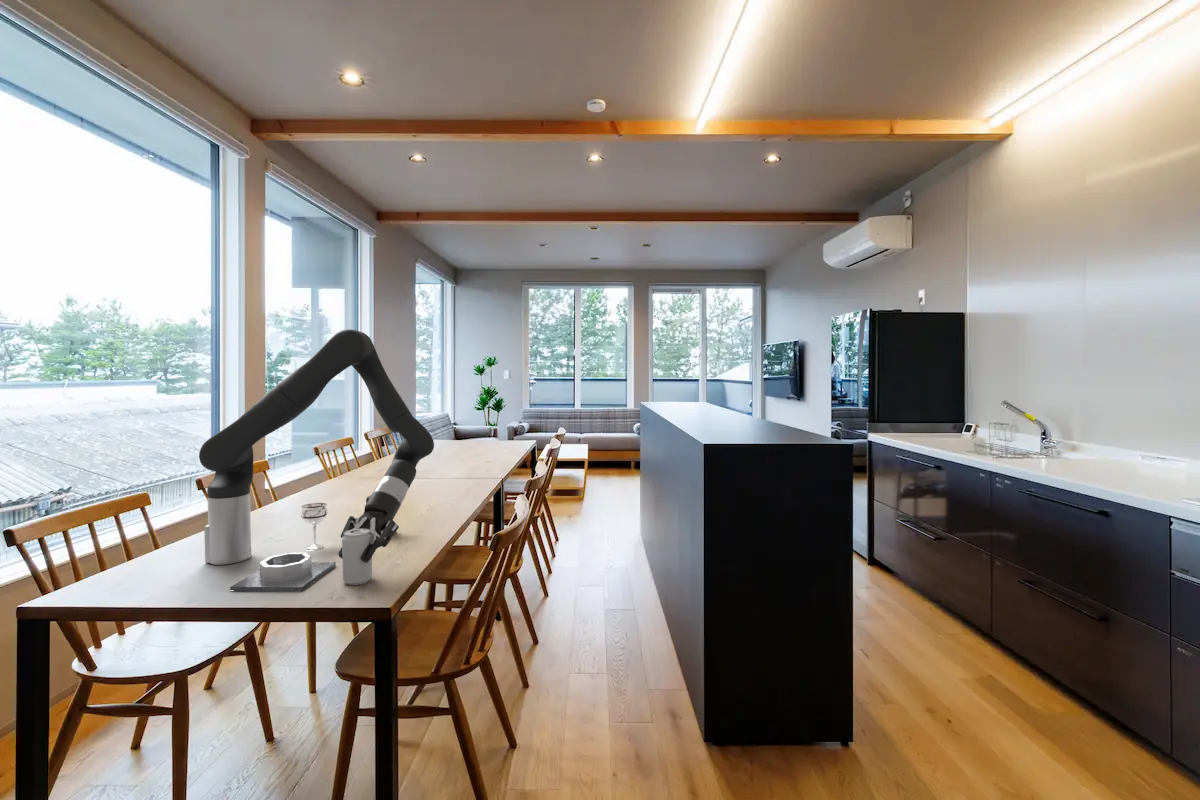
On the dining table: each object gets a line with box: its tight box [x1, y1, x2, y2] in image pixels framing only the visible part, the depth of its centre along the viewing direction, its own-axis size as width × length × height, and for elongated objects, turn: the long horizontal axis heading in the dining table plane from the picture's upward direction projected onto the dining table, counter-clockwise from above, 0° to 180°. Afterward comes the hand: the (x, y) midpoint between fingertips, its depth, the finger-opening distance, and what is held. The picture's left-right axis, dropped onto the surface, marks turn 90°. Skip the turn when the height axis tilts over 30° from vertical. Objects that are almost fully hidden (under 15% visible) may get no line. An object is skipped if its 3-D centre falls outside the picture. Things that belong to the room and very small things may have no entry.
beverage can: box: [341, 528, 373, 586], centre depth 127 cm, size 6×6×12 cm
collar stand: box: [229, 552, 337, 592], centre depth 129 cm, size 16×16×4 cm
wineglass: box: [300, 502, 329, 551], centre depth 152 cm, size 7×7×12 cm
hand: (352, 559), depth 125 cm, fingers closed on beverage can, 6 cm apart
